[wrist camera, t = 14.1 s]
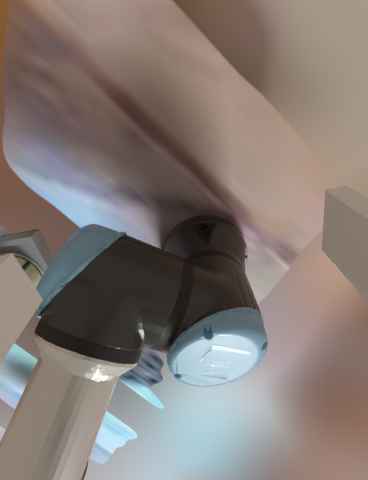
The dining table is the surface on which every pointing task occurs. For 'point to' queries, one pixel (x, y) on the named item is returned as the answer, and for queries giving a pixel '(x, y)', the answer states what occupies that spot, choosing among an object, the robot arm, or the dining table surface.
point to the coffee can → (28, 267)
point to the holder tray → (28, 247)
